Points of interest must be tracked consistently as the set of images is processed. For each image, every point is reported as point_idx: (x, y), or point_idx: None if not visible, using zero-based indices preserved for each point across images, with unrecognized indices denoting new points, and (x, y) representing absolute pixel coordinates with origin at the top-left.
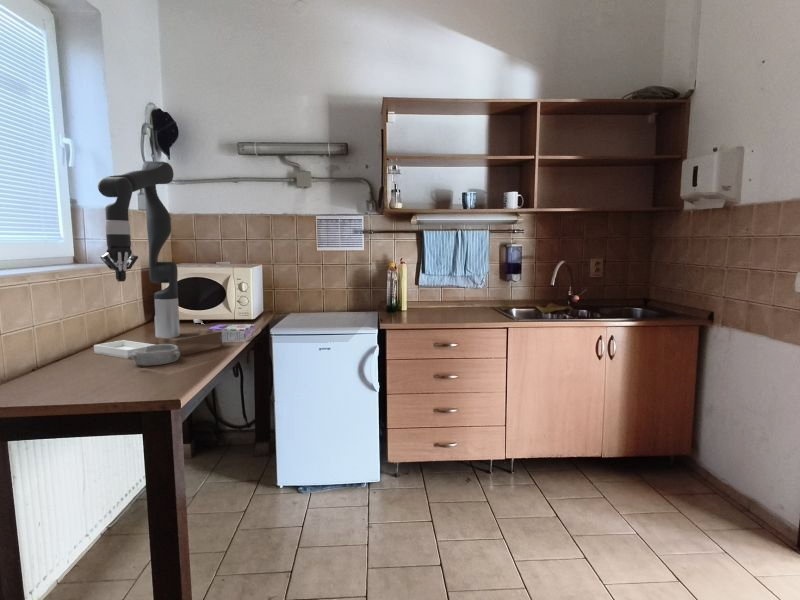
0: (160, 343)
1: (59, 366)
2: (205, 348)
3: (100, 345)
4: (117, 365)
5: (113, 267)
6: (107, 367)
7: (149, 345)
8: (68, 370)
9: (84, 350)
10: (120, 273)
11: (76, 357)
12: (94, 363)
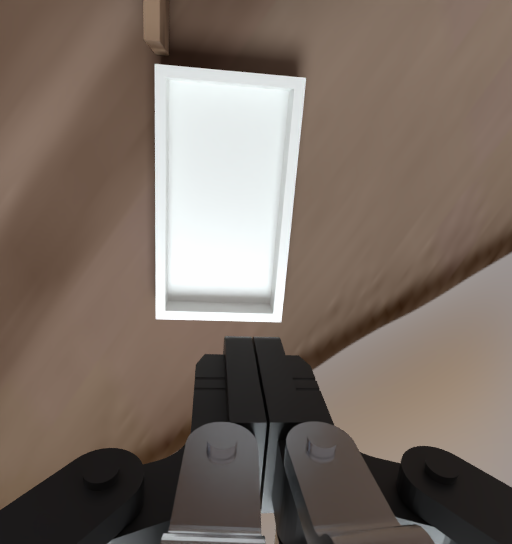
0: (163, 8)
1: (466, 209)
2: None
3: (275, 292)
4: (400, 5)
5: (483, 478)
6: (437, 13)
7: (166, 107)
8: (505, 116)
9: None
10: (297, 403)
11: (348, 295)
12: (400, 136)
